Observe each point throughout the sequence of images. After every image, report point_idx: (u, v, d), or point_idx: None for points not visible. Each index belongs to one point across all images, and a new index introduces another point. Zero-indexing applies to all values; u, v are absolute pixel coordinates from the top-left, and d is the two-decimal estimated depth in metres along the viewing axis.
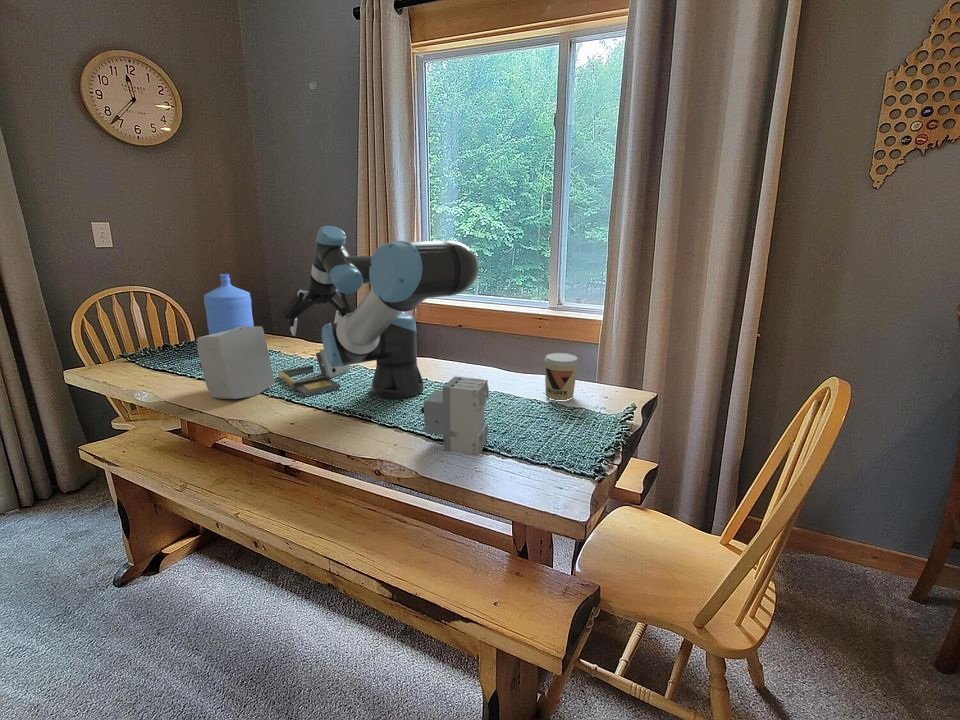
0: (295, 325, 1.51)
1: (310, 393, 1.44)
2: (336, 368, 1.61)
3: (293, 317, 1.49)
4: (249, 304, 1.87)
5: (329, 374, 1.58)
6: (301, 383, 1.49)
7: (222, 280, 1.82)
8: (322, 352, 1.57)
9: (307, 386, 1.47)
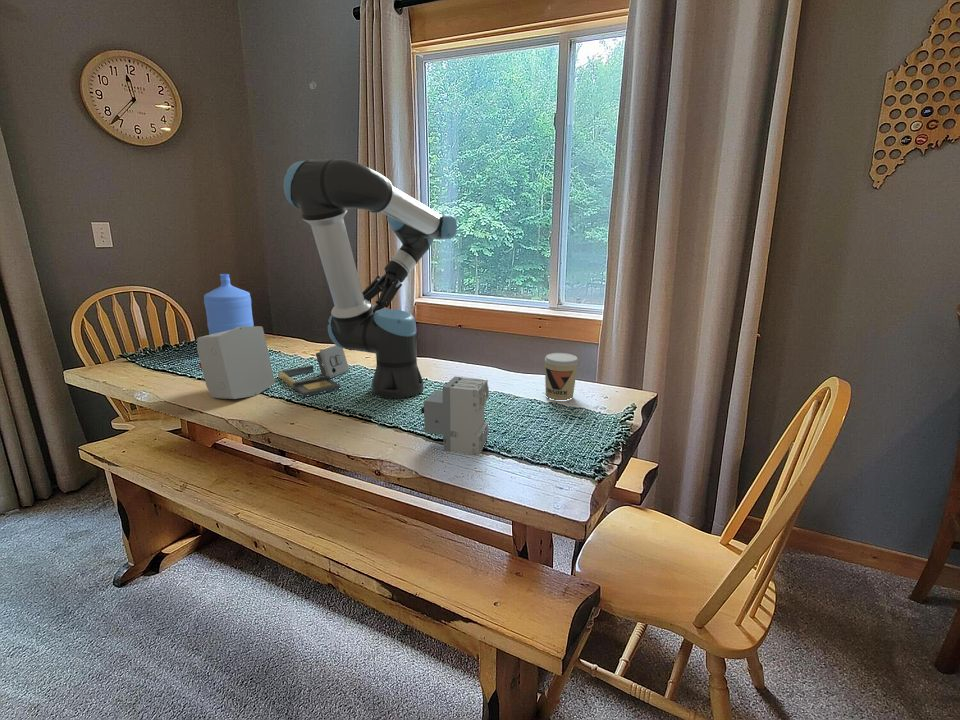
0: None
1: (310, 393, 1.44)
2: (336, 368, 1.61)
3: None
4: (249, 304, 1.87)
5: (329, 374, 1.58)
6: (301, 383, 1.49)
7: (222, 280, 1.82)
8: (322, 352, 1.57)
9: (307, 386, 1.47)
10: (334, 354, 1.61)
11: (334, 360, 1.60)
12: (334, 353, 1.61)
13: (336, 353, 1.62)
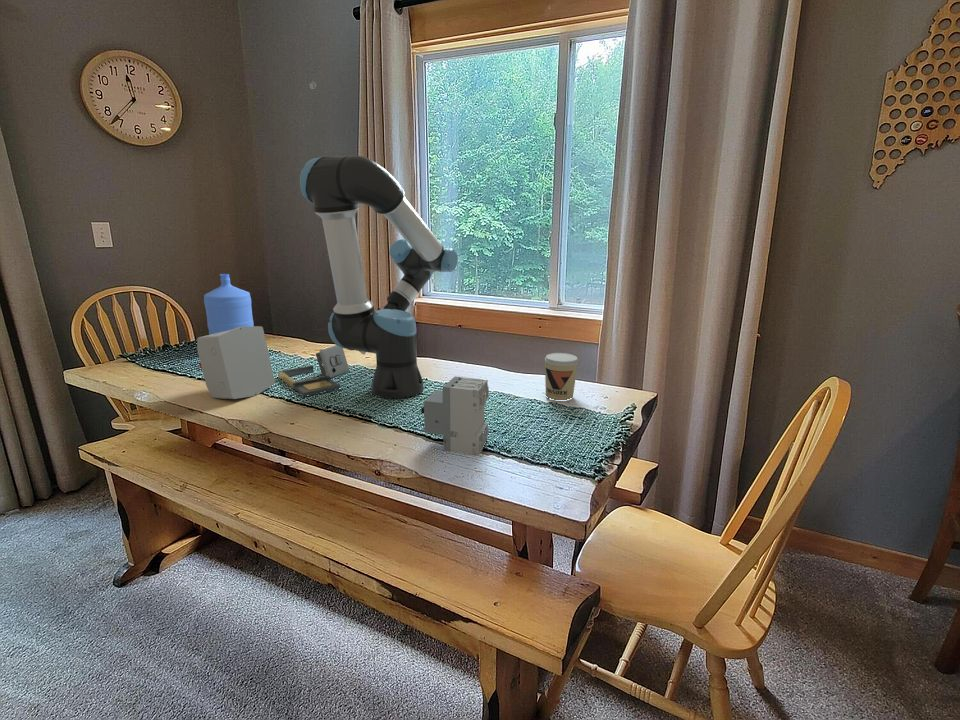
0: None
1: (310, 393, 1.44)
2: (336, 368, 1.61)
3: None
4: (249, 304, 1.87)
5: (329, 374, 1.58)
6: (301, 383, 1.49)
7: (222, 280, 1.82)
8: (322, 352, 1.57)
9: (307, 386, 1.47)
10: (334, 354, 1.61)
11: (334, 360, 1.60)
12: (334, 353, 1.61)
13: (336, 353, 1.62)
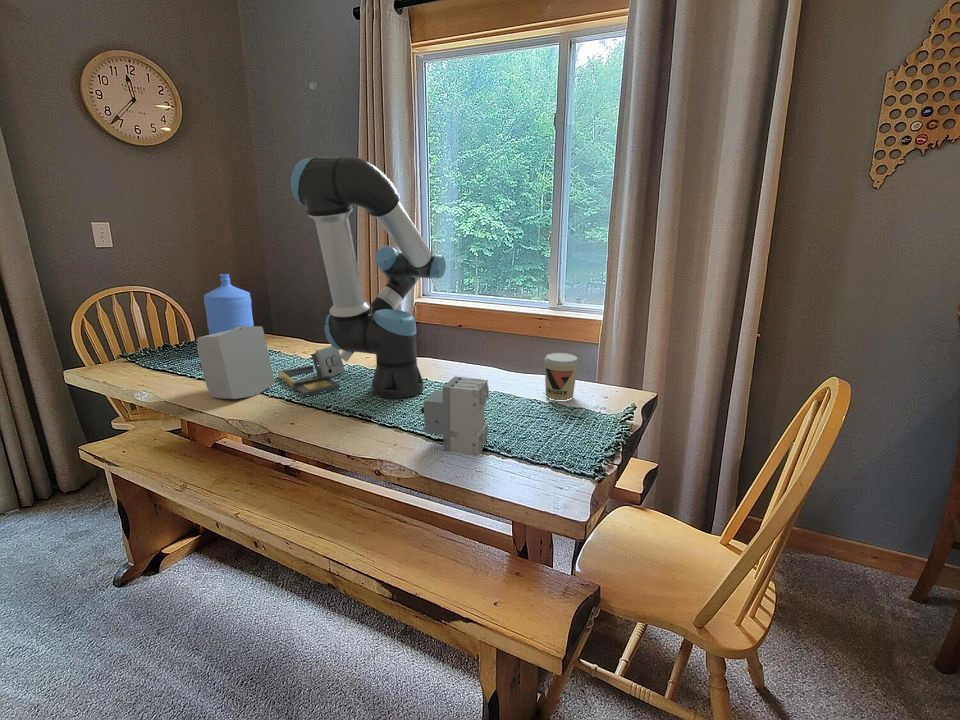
0: None
1: (310, 393, 1.44)
2: (332, 369, 1.60)
3: None
4: (249, 304, 1.87)
5: (325, 375, 1.57)
6: (301, 383, 1.49)
7: (222, 280, 1.82)
8: (318, 353, 1.56)
9: (307, 386, 1.47)
10: (330, 355, 1.60)
11: (330, 361, 1.59)
12: (330, 354, 1.60)
13: (332, 354, 1.61)
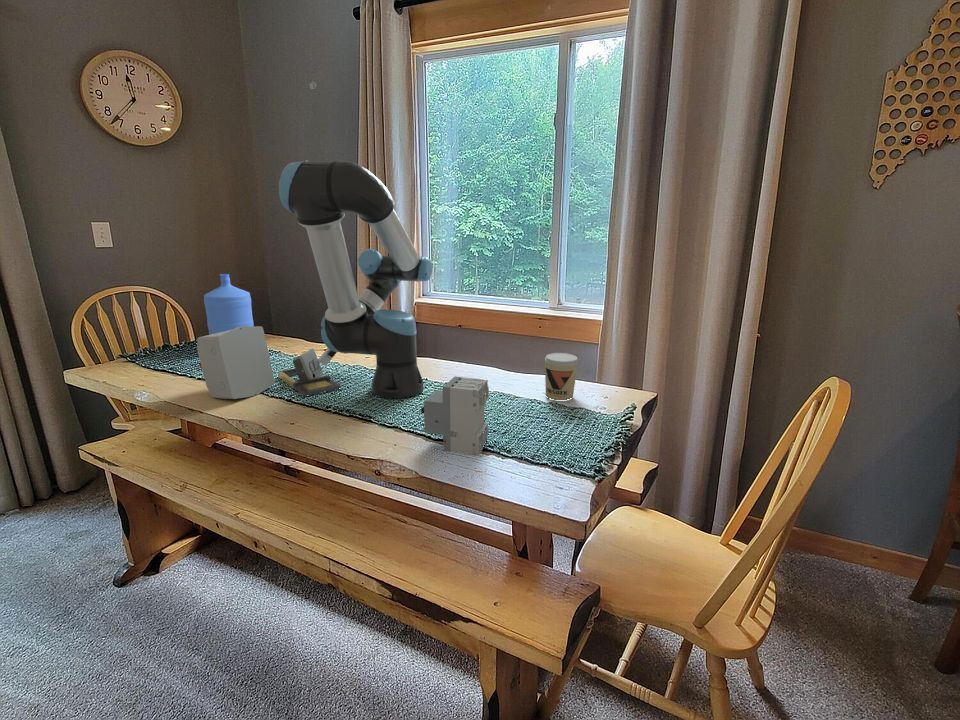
0: (326, 350, 1.60)
1: (310, 393, 1.44)
2: (315, 373, 1.55)
3: None
4: (249, 304, 1.87)
5: None
6: (301, 383, 1.49)
7: (222, 280, 1.82)
8: (302, 358, 1.50)
9: (307, 386, 1.47)
10: (311, 359, 1.55)
11: (312, 365, 1.55)
12: (311, 358, 1.55)
13: (312, 358, 1.56)
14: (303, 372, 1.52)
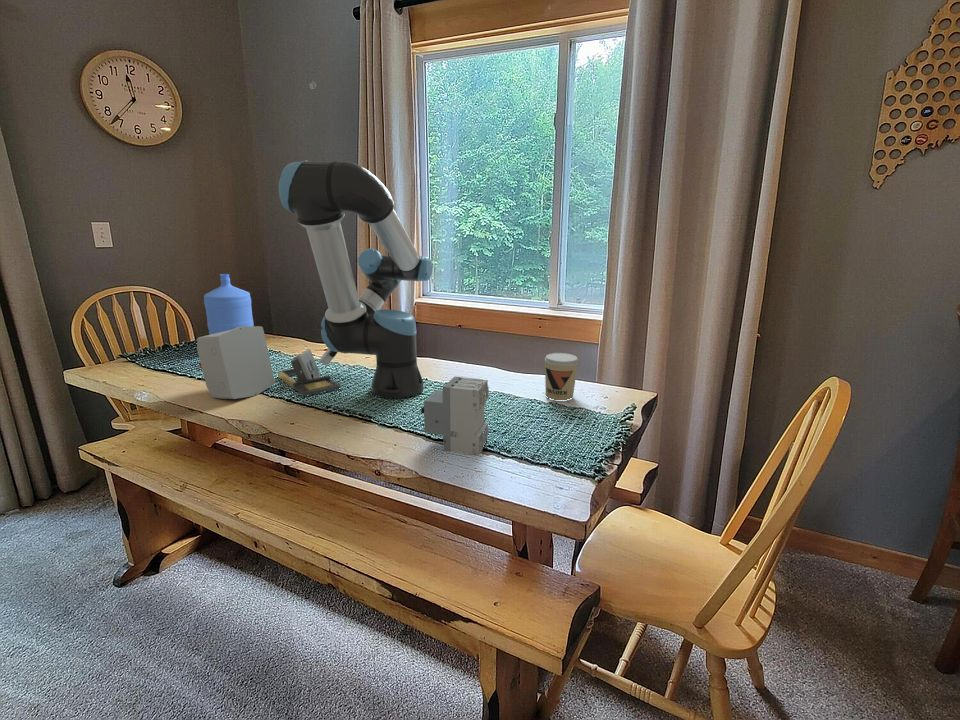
0: (327, 350, 1.60)
1: (310, 393, 1.44)
2: (313, 373, 1.55)
3: None
4: (249, 304, 1.87)
5: None
6: (301, 383, 1.49)
7: (222, 280, 1.82)
8: (301, 358, 1.50)
9: (307, 386, 1.47)
10: (308, 360, 1.55)
11: (310, 366, 1.54)
12: (308, 358, 1.55)
13: (309, 358, 1.56)
14: (302, 373, 1.52)
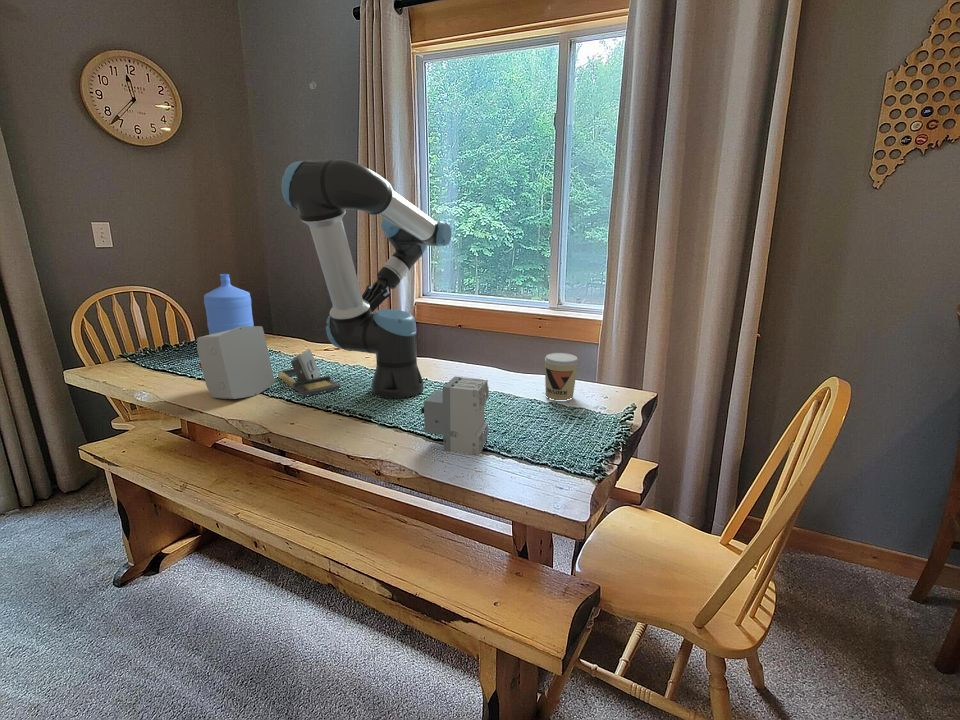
0: None
1: (310, 393, 1.44)
2: (313, 373, 1.55)
3: None
4: (249, 304, 1.87)
5: None
6: (301, 383, 1.49)
7: (222, 280, 1.82)
8: (301, 358, 1.50)
9: (307, 386, 1.47)
10: (308, 360, 1.55)
11: (310, 366, 1.54)
12: (308, 358, 1.55)
13: (309, 358, 1.56)
14: (302, 373, 1.52)
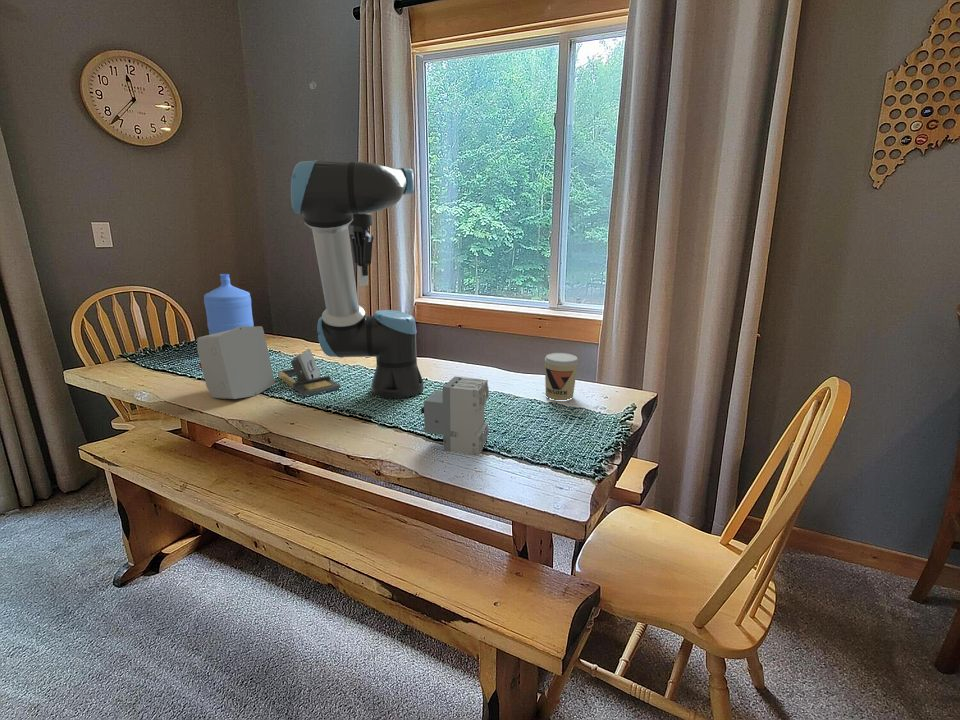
0: (359, 272, 1.71)
1: (310, 393, 1.44)
2: (313, 373, 1.55)
3: (357, 262, 1.71)
4: (249, 304, 1.87)
5: None
6: (301, 383, 1.49)
7: (222, 280, 1.82)
8: (301, 358, 1.50)
9: (307, 386, 1.47)
10: (308, 360, 1.55)
11: (310, 366, 1.54)
12: (308, 358, 1.55)
13: (309, 358, 1.56)
14: (302, 373, 1.52)
